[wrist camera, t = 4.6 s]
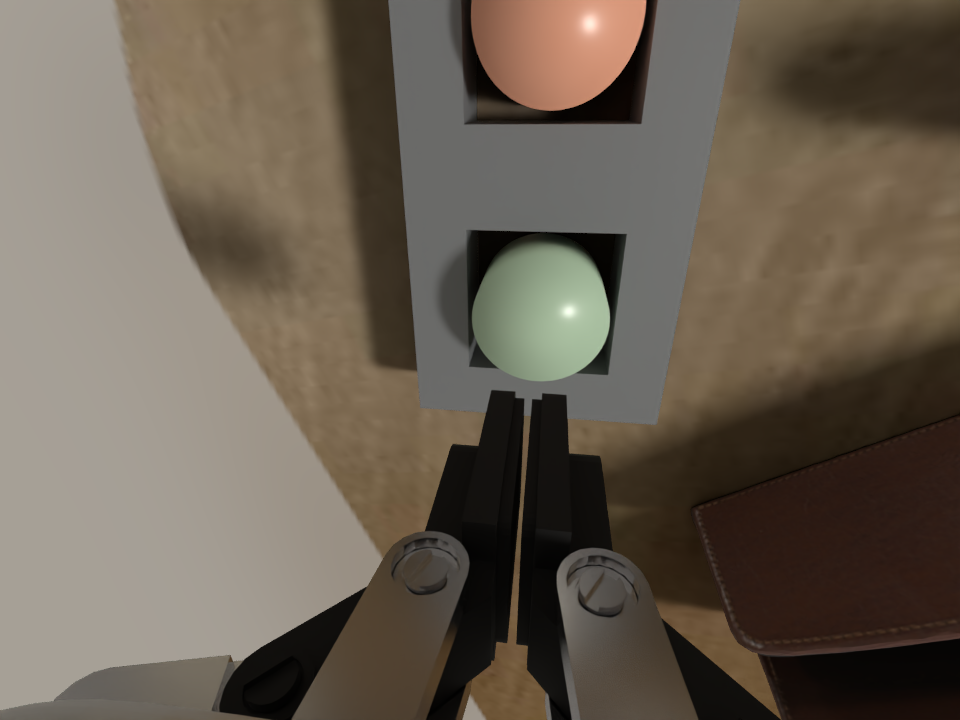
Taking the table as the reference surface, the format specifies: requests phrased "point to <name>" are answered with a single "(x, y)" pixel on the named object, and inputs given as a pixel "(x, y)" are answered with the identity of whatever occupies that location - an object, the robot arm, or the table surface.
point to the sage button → (541, 308)
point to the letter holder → (849, 579)
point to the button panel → (555, 199)
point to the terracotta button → (555, 47)
